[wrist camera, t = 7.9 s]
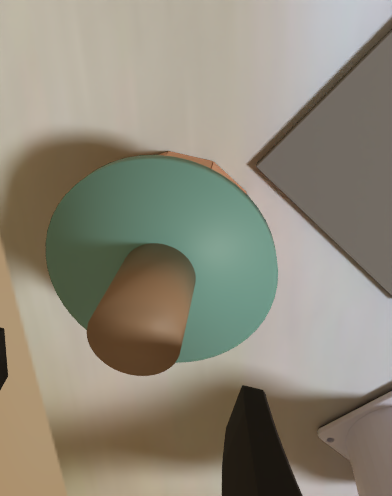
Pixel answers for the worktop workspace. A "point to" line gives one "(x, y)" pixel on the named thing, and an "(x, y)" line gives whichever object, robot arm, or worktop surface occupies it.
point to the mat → (346, 163)
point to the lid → (161, 262)
